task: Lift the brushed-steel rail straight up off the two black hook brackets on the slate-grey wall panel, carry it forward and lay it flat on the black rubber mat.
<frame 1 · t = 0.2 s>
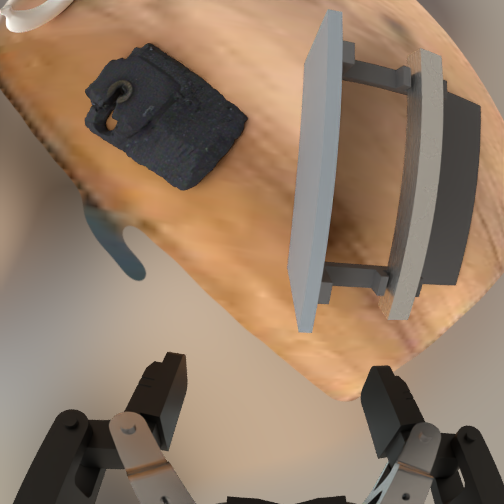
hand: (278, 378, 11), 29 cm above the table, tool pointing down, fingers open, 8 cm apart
mat: (451, 190, 36), on the table
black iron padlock: (159, 115, 35), on the table
banana: (73, 0, 27), on the table
rail: (412, 183, 25), point 12 cm above the table, touching rail stand
rail stand: (371, 174, 36), on the table
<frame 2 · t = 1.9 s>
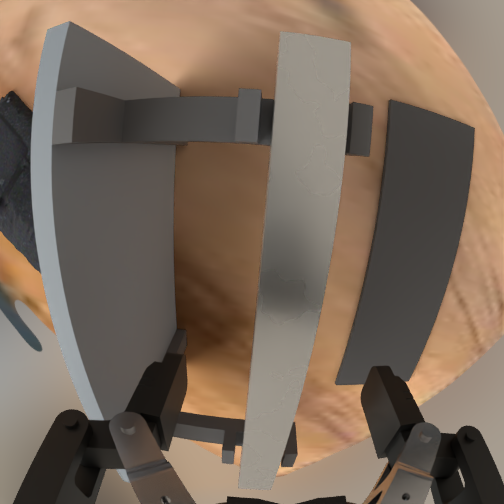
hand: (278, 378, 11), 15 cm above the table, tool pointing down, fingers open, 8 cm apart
mat: (412, 266, 26), on the table
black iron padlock: (23, 181, 25), on the table
rail: (277, 333, 15), point 12 cm above the table, touching rail stand
rail stand: (272, 254, 26), on the table
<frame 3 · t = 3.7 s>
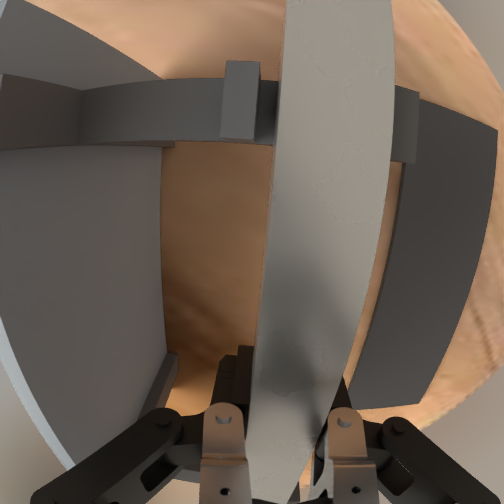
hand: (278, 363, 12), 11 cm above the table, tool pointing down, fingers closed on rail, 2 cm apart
mat: (429, 284, 22), on the table
rail: (279, 385, 11), point 12 cm above the table, touching gripper, rail stand
rail stand: (273, 273, 22), on the table
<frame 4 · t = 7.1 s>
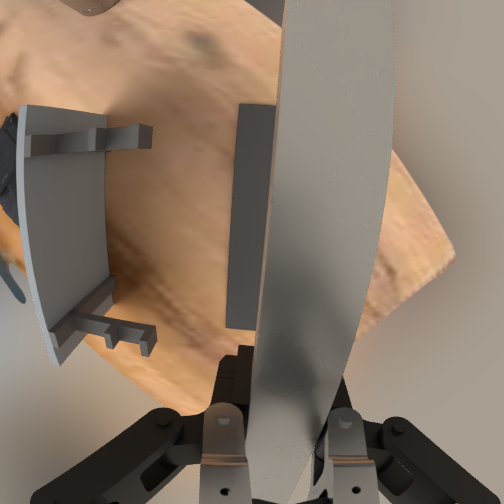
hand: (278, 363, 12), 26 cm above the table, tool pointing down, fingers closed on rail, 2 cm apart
mat: (270, 227, 37), on the table
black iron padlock: (20, 175, 36), on the table
rail: (279, 386, 11), point 27 cm above the table, touching gripper
rail stand: (162, 219, 37), on the table
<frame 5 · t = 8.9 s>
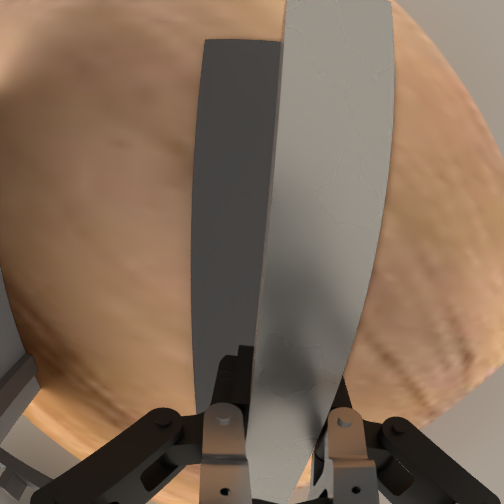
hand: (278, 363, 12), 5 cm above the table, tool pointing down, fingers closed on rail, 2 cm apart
mat: (275, 307, 17), on the table
rail: (279, 386, 11), point 7 cm above the table, touching gripper
rail stand: (72, 281, 18), on the table
when the fingers open (1 cm above the table, at t = 10.5 s): rail drops 2 cm, resting on mat.
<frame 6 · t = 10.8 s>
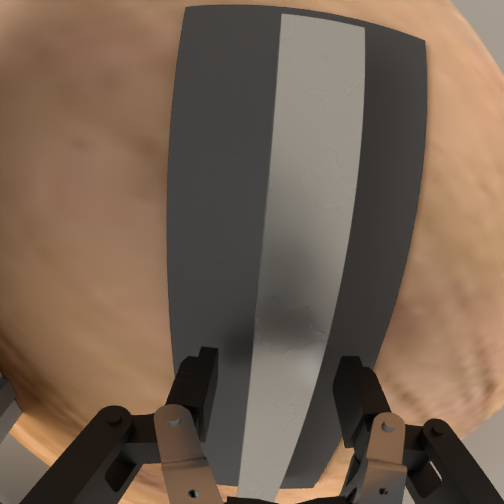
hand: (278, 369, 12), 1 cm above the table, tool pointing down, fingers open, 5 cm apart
mat: (277, 349, 13), on the table
rail: (277, 356, 13), resting on mat
rail stand: (38, 309, 14), on the table
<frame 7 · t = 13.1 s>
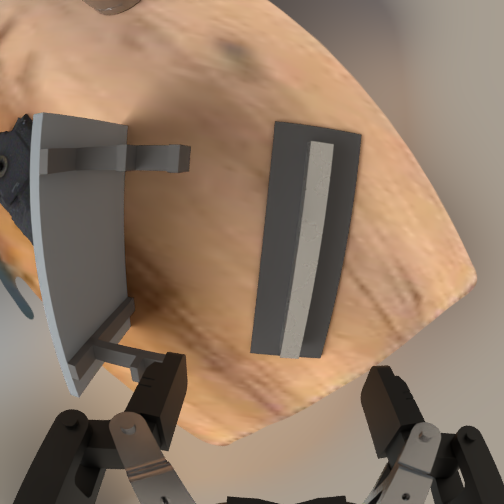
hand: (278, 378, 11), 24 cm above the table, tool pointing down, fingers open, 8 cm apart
mat: (303, 253, 35), on the table
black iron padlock: (32, 184, 35), on the table
rail: (303, 254, 35), resting on mat
rail stand: (188, 241, 35), on the table
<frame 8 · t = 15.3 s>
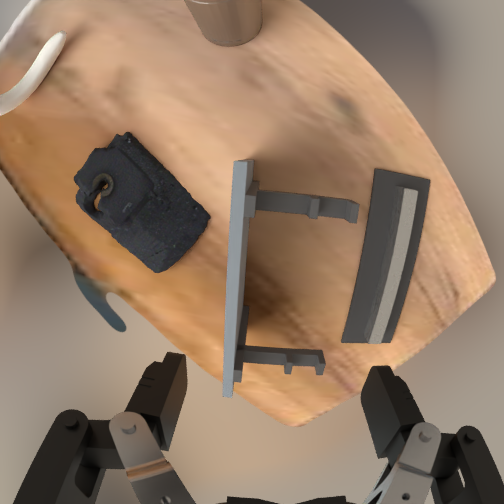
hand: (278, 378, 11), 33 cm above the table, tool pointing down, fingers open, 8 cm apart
mat: (387, 265, 44), on the table
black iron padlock: (138, 203, 44), on the table
banana: (45, 76, 36), on the table
rail: (388, 266, 44), resting on mat
rail stand: (305, 258, 45), on the table
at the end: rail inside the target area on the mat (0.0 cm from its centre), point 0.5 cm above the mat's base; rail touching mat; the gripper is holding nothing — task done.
